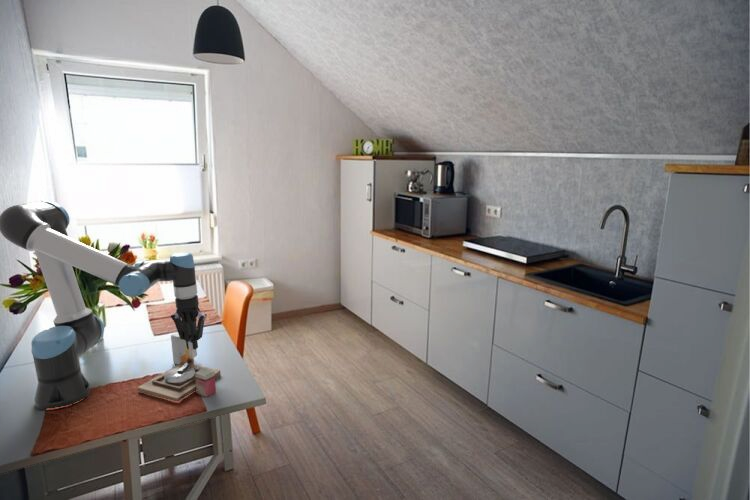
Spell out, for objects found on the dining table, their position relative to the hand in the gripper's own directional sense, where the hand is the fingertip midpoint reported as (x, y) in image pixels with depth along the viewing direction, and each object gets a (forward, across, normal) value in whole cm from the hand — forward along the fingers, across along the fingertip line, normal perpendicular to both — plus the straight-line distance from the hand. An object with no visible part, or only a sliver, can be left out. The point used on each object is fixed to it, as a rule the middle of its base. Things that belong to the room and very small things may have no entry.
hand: (193, 356), depth 161 cm
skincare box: (+7, +10, -8) cm, 14 cm away
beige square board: (+7, +1, +8) cm, 10 cm away
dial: (+4, +1, +6) cm, 7 cm away
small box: (+7, -11, +12) cm, 17 cm away
